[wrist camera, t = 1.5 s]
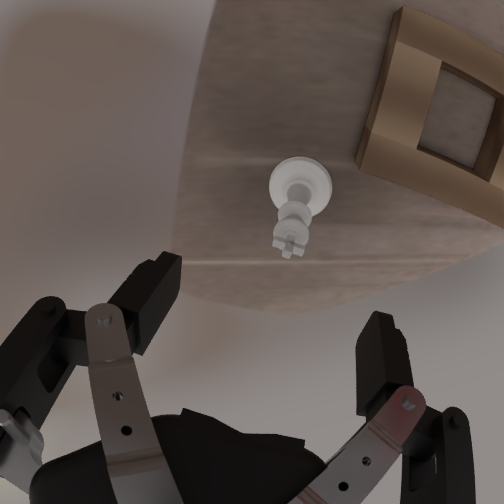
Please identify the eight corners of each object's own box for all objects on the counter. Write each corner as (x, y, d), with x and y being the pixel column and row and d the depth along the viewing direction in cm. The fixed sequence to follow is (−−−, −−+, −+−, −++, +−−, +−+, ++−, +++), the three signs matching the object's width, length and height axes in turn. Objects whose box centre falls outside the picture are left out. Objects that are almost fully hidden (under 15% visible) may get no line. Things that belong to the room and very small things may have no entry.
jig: (394, 13, 15) (404, 5, 13) (531, 88, 15) (551, 92, 12) (354, 159, 22) (359, 170, 20) (488, 212, 21) (503, 228, 19)
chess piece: (280, 147, 23) (254, 194, 15) (342, 170, 23) (352, 231, 14) (261, 202, 26) (228, 274, 17) (318, 224, 26) (313, 304, 17)
